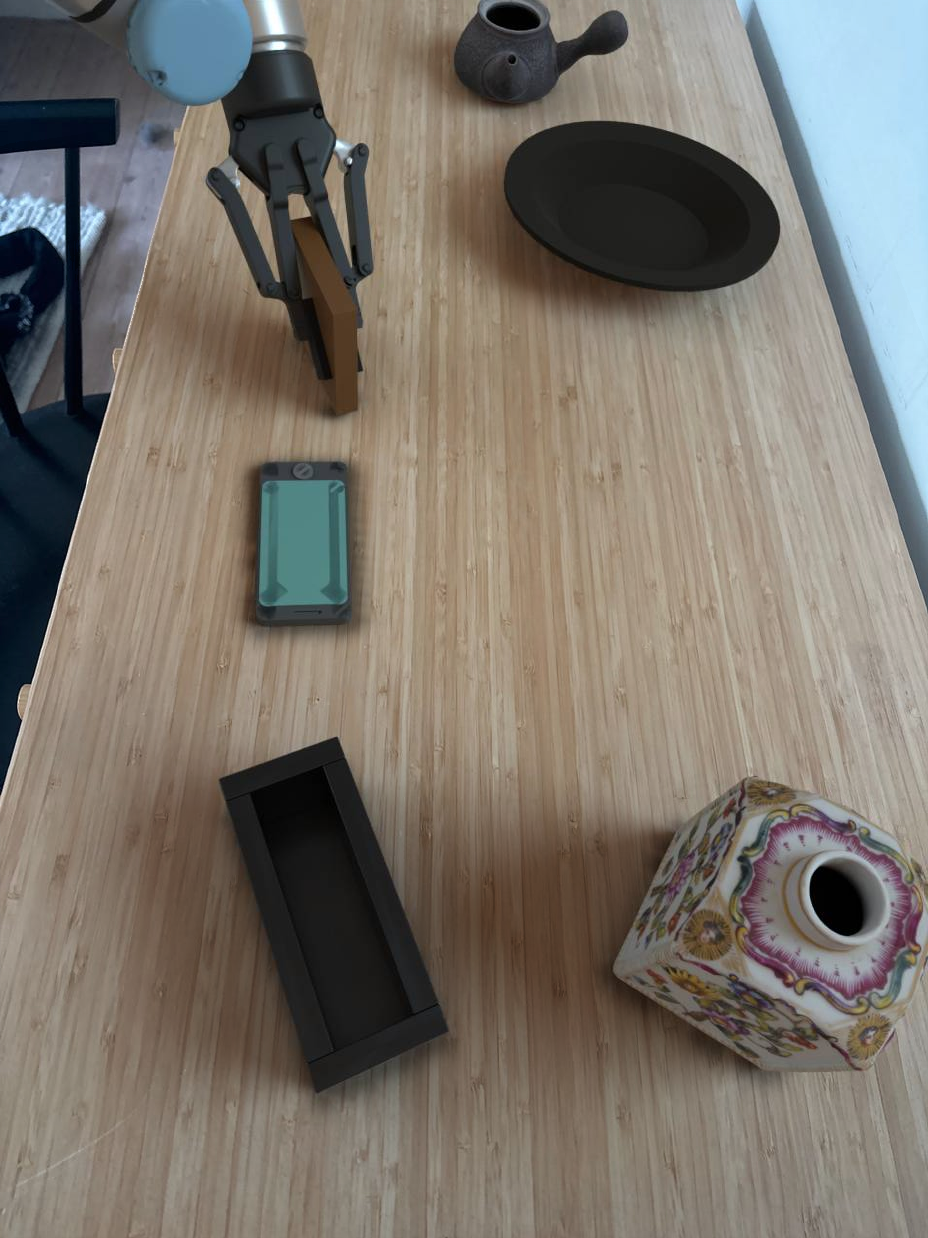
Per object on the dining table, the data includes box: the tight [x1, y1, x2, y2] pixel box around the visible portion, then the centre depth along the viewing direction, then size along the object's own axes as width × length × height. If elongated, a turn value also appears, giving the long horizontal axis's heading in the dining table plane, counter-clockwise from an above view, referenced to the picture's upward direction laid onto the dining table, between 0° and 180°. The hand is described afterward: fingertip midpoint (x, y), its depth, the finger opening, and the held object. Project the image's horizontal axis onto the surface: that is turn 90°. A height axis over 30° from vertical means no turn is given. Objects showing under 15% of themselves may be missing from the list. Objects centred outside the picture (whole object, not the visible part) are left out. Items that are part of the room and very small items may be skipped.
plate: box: [503, 120, 781, 293], centre depth 88 cm, size 28×24×6 cm
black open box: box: [218, 735, 450, 1095], centre depth 53 cm, size 18×8×9 cm, turn 23°
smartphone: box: [254, 461, 353, 627], centre depth 70 cm, size 7×1×15 cm
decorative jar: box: [612, 775, 928, 1073], centre depth 51 cm, size 12×12×18 cm
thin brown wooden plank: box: [290, 215, 359, 416], centre depth 73 cm, size 11×2×12 cm, turn 23°
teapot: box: [453, 0, 629, 104], centre depth 98 cm, size 19×15×10 cm
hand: (340, 374), depth 74 cm, fingers closed on thin brown wooden plank, 2 cm apart
